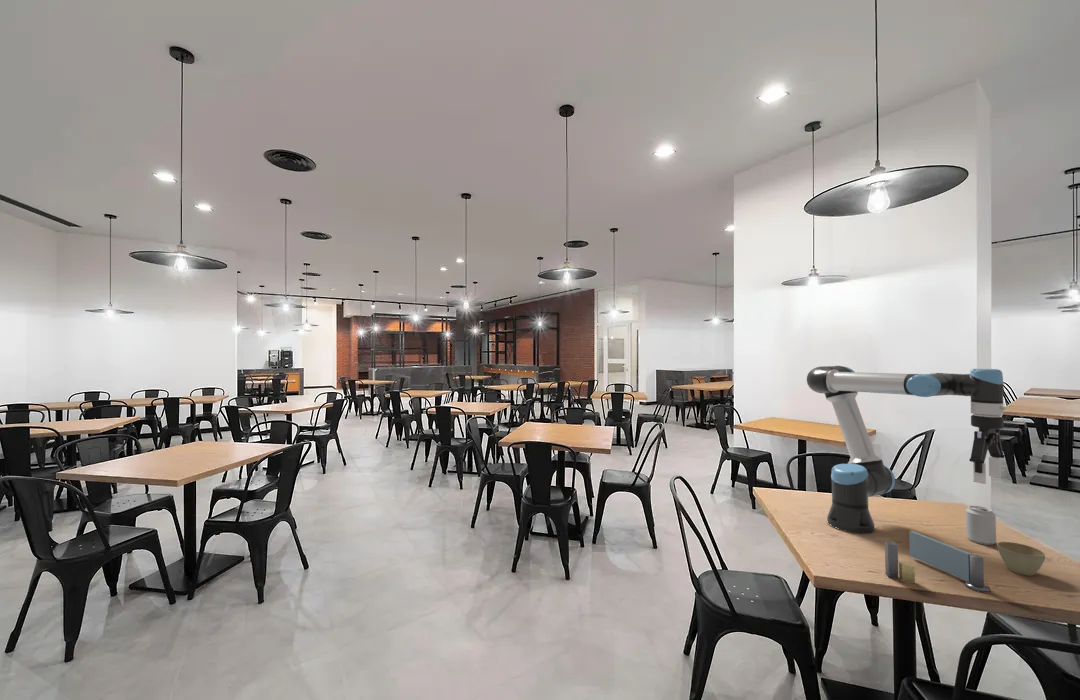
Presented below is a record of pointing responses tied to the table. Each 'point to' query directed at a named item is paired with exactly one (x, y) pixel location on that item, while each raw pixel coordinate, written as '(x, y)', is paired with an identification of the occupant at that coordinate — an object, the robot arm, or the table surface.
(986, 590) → the hinge flange
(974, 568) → the gate
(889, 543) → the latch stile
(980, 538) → the can
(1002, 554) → the olive beige bowl
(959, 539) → the table surface
